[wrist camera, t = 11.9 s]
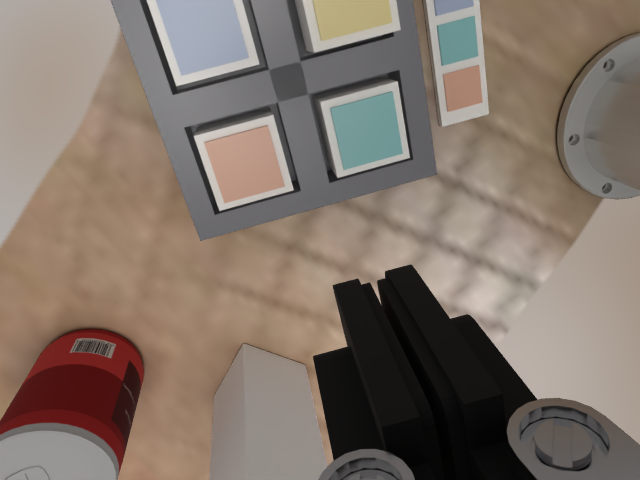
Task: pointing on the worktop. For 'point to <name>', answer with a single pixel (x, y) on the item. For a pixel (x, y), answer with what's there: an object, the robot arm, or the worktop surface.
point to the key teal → (362, 126)
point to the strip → (456, 59)
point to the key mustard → (345, 21)
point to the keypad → (280, 108)
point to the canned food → (73, 410)
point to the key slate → (203, 37)
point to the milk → (265, 421)
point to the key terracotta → (243, 158)
